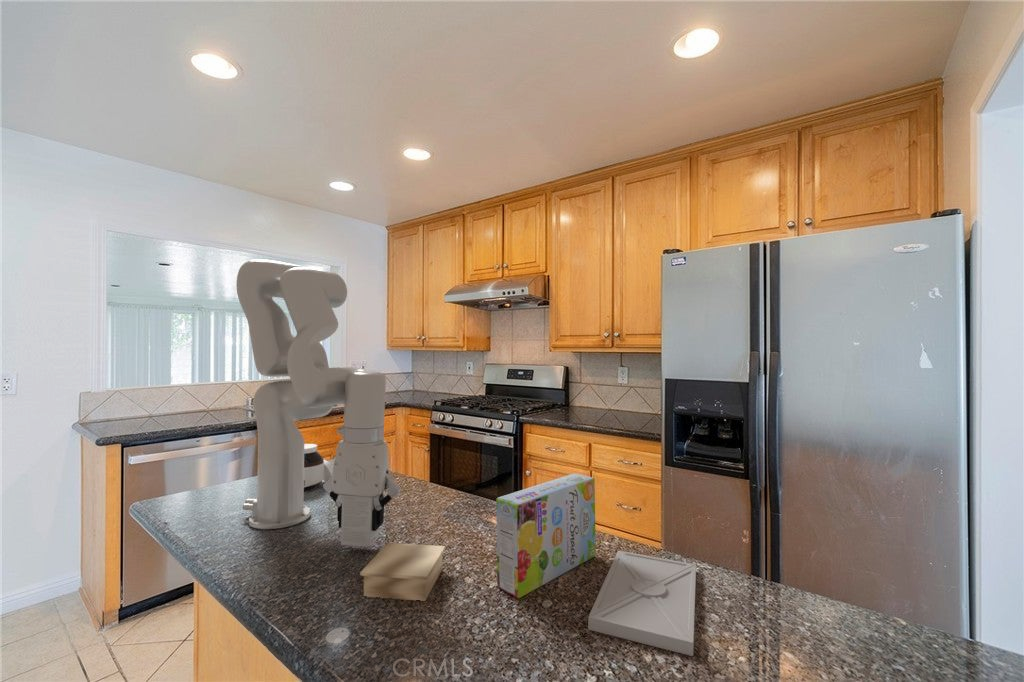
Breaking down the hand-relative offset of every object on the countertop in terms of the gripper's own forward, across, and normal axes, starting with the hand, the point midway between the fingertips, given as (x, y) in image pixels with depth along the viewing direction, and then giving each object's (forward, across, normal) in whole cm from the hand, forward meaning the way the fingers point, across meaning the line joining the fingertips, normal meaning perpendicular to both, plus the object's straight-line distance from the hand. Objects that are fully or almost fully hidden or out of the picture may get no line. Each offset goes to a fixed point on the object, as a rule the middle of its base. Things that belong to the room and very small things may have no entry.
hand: (360, 525), depth 87 cm
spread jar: (+7, -32, +36) cm, 49 cm away
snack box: (+4, +37, -4) cm, 37 cm away
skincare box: (+3, 0, 0) cm, 3 cm away
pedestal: (+4, +13, -11) cm, 17 cm away
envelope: (+3, +53, -10) cm, 54 cm away
